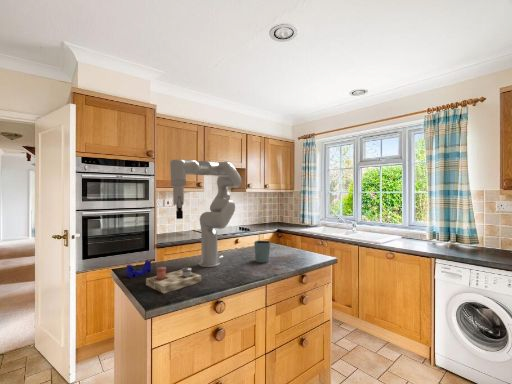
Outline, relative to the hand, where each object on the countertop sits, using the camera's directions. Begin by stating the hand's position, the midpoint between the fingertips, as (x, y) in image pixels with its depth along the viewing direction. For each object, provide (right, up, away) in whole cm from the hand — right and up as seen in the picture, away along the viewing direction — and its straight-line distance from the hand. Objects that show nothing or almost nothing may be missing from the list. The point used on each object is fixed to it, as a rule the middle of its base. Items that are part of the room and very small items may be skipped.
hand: (179, 218), depth 141 cm
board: (+1, -30, -11) cm, 32 cm away
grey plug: (+6, -30, -10) cm, 32 cm away
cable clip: (-22, -30, +2) cm, 37 cm away
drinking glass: (+44, -30, +30) cm, 61 cm away
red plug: (-5, -29, -13) cm, 32 cm away
